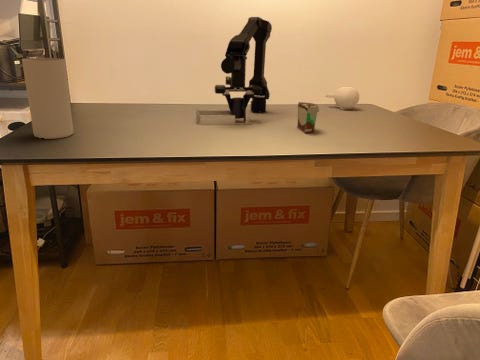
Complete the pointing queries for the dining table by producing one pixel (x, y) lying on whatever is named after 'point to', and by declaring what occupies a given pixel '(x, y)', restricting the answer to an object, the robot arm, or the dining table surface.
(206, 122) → the beige shallow tray
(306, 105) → the food container
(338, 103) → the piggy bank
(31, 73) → the cylinder vase
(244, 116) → the speaker
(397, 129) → the dining table surface
